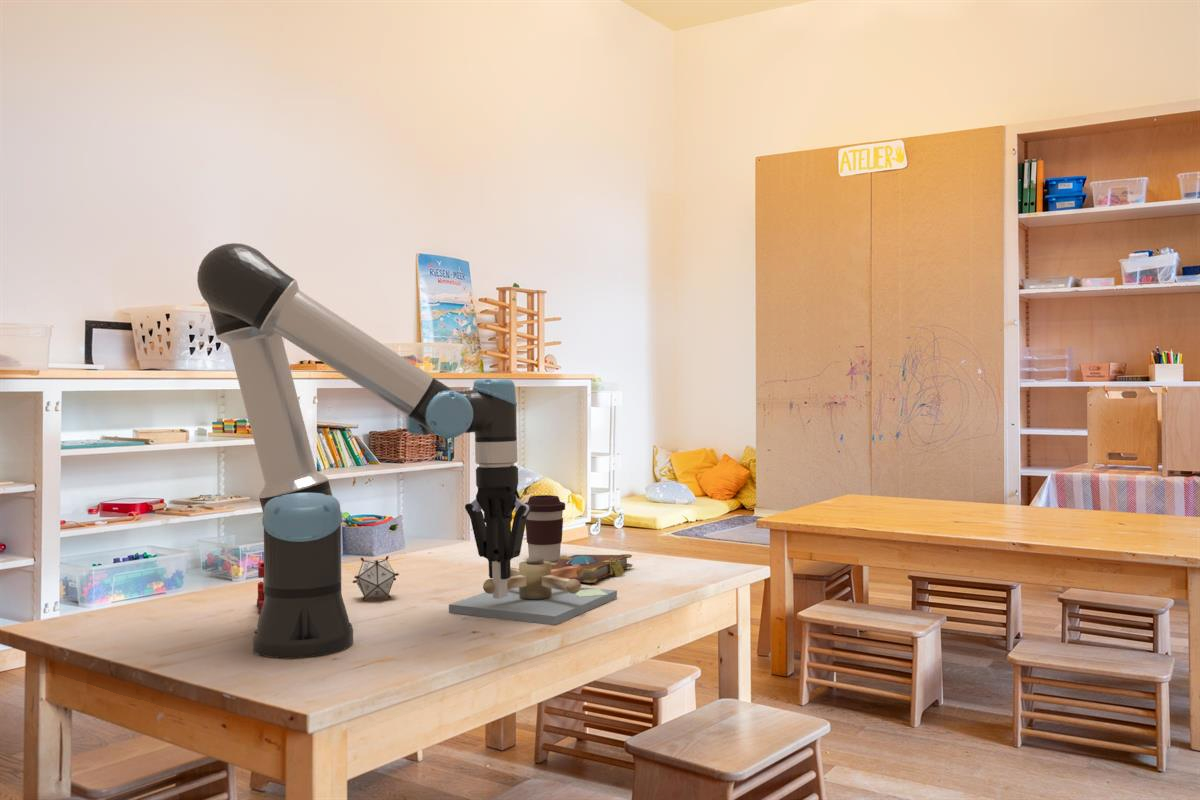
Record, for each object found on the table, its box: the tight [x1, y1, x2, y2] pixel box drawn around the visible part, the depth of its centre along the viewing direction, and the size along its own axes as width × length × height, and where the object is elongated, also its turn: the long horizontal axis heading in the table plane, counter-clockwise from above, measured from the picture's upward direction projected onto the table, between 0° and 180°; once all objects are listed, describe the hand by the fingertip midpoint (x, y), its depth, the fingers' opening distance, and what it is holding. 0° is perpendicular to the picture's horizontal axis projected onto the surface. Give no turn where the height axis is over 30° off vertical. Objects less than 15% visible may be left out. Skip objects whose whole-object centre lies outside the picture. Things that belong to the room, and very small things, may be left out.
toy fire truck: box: [256, 561, 264, 614], centre depth 181 cm, size 3×14×10 cm, turn 21°
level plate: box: [448, 586, 618, 626], centre depth 184 cm, size 24×22×3 cm
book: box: [551, 553, 634, 584], centre depth 213 cm, size 16×25×5 cm, turn 155°
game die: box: [352, 555, 400, 602], centre depth 191 cm, size 9×8×10 cm
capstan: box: [482, 557, 584, 599], centre depth 184 cm, size 24×24×7 cm
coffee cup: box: [524, 494, 566, 563], centre depth 233 cm, size 10×10×15 cm
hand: (500, 596), depth 177 cm, fingers closed
